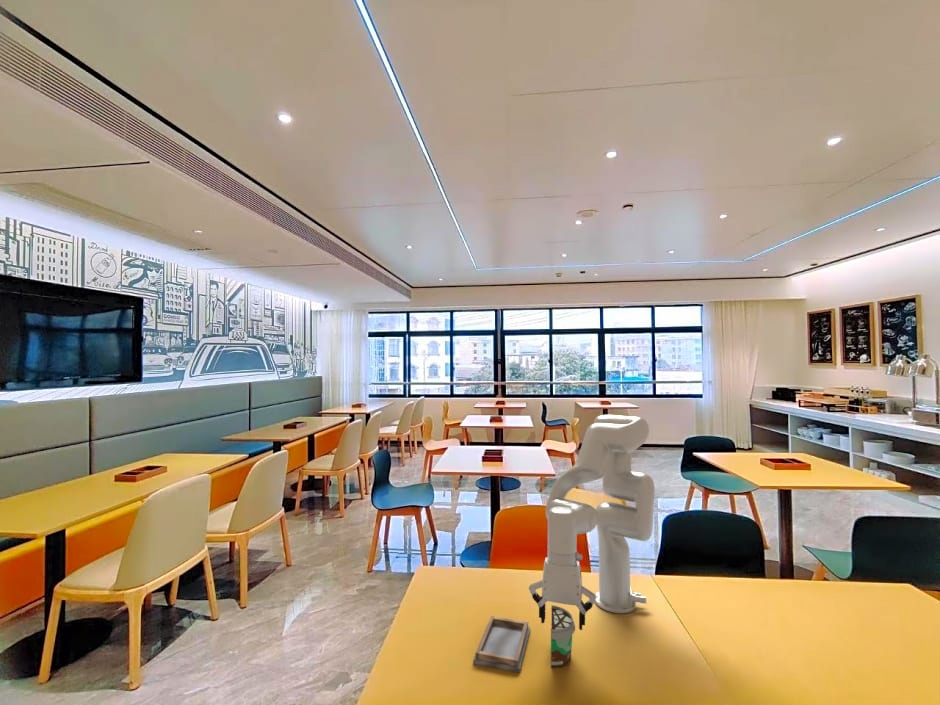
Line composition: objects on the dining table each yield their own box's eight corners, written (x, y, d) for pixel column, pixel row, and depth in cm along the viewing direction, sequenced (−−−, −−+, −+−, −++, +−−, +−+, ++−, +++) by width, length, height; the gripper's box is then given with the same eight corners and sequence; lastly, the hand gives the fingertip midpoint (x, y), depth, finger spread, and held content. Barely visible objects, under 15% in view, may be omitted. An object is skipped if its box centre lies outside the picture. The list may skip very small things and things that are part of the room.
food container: (576, 675, 105) (576, 633, 105) (551, 671, 106) (550, 630, 107) (574, 643, 117) (574, 606, 118) (551, 641, 118) (551, 604, 119)
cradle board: (530, 630, 123) (530, 621, 123) (519, 672, 106) (519, 662, 106) (489, 623, 127) (489, 614, 127) (473, 663, 109) (473, 653, 109)
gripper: (596, 555, 114) (596, 622, 113) (531, 547, 119) (530, 610, 118) (596, 567, 107) (596, 638, 106) (527, 557, 111) (526, 625, 110)
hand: (561, 623), depth 112 cm, fingers open, 9 cm apart
